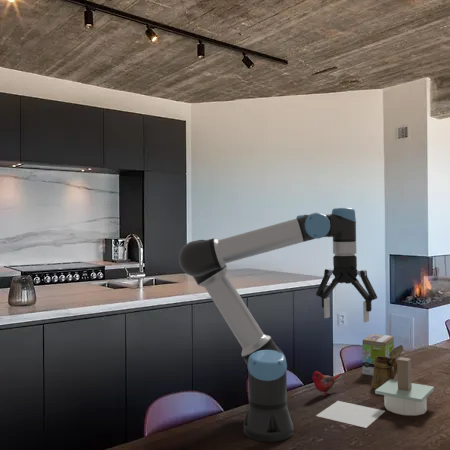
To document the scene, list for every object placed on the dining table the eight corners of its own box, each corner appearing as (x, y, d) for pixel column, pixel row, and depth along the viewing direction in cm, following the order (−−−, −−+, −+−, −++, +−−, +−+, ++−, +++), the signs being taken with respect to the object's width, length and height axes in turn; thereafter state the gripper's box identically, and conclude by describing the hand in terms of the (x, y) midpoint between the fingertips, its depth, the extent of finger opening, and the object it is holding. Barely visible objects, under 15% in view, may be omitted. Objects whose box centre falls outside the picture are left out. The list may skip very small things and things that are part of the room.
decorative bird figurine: (309, 399, 174) (308, 371, 174) (338, 388, 185) (337, 362, 185) (315, 401, 171) (314, 373, 172) (344, 390, 183) (344, 364, 183)
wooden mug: (394, 395, 176) (393, 346, 176) (366, 386, 188) (365, 339, 188) (410, 391, 180) (409, 343, 181) (382, 382, 192) (381, 337, 192)
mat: (315, 417, 157) (315, 415, 157) (337, 402, 170) (337, 400, 170) (366, 429, 147) (366, 427, 147) (385, 412, 160) (385, 410, 160)
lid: (375, 393, 161) (374, 360, 161) (390, 382, 173) (389, 351, 173) (421, 402, 152) (420, 367, 152) (434, 389, 164) (433, 357, 164)
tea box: (386, 378, 197) (385, 342, 198) (362, 374, 203) (361, 339, 203) (394, 368, 210) (393, 335, 210) (371, 365, 216) (370, 332, 216)
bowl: (379, 411, 161) (379, 393, 161) (392, 400, 171) (392, 383, 172) (419, 419, 153) (419, 400, 153) (430, 407, 164) (430, 389, 164)
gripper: (386, 254, 153) (388, 321, 153) (315, 253, 168) (317, 314, 168) (378, 256, 147) (379, 325, 147) (305, 254, 162) (306, 317, 162)
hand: (346, 319), depth 157 cm, fingers open, 13 cm apart
